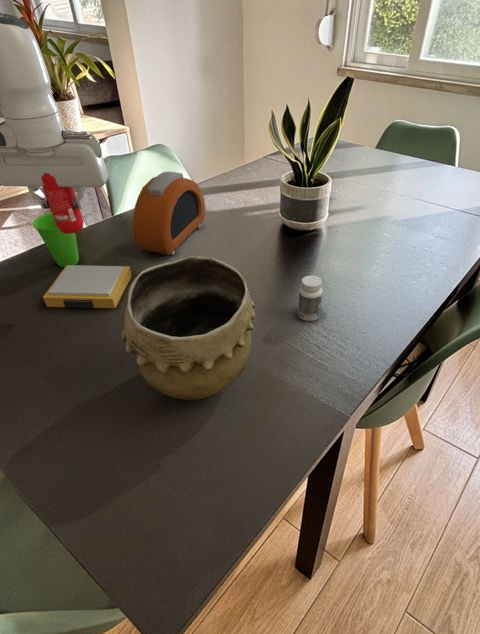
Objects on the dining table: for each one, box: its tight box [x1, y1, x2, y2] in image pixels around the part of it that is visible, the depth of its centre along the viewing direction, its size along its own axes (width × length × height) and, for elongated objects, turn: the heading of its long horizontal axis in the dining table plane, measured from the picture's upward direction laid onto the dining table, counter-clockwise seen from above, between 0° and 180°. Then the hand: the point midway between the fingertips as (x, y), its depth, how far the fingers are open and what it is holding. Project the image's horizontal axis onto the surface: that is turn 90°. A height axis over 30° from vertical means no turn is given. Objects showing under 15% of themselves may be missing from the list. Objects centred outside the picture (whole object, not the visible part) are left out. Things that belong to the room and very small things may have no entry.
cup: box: [32, 212, 80, 268], centre depth 102 cm, size 9×9×11 cm
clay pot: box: [120, 255, 256, 401], centre depth 69 cm, size 21×21×20 cm
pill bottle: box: [297, 275, 324, 322], centre depth 87 cm, size 5×5×8 cm
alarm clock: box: [132, 171, 206, 256], centre depth 109 cm, size 23×9×17 cm, turn 161°
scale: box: [42, 264, 133, 309], centre depth 95 cm, size 15×14×3 cm
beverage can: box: [41, 173, 85, 234], centre depth 83 cm, size 5×5×12 cm
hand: (63, 207), depth 83 cm, fingers closed on beverage can, 5 cm apart
